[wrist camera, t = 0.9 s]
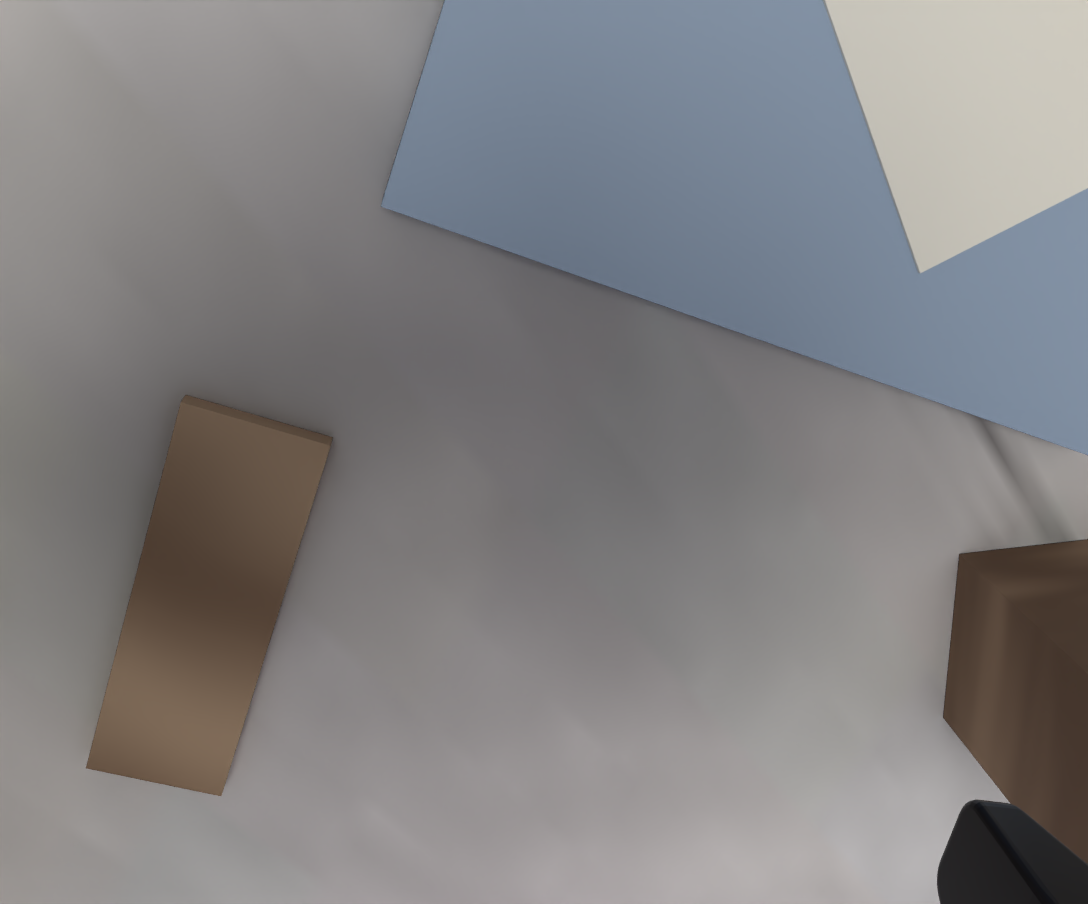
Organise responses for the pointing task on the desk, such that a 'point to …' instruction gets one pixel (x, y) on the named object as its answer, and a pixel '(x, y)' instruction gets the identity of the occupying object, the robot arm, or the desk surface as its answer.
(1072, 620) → the block
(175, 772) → the wing slat
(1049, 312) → the board
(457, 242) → the desk surface
